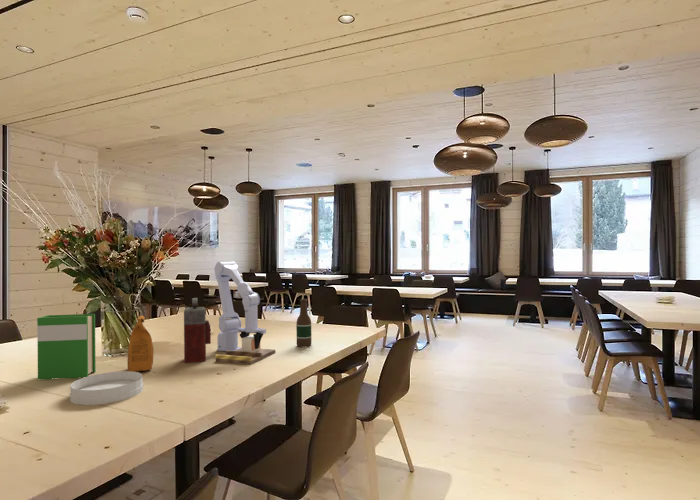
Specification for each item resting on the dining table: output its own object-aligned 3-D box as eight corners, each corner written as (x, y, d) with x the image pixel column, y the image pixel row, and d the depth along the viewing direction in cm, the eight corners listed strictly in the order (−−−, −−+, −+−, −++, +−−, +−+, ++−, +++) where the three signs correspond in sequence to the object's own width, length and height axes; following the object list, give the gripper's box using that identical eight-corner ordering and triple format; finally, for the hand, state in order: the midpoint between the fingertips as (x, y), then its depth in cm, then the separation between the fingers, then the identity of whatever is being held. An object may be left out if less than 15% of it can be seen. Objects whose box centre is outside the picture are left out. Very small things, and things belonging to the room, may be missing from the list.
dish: (127, 380, 162) (127, 367, 162) (155, 392, 148) (154, 378, 148) (59, 396, 145) (59, 382, 145) (84, 411, 131) (83, 395, 131)
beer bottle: (293, 346, 217) (293, 299, 217) (302, 343, 224) (301, 298, 224) (306, 347, 213) (305, 300, 213) (314, 344, 220) (314, 298, 220)
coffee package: (154, 364, 185) (154, 314, 185) (153, 371, 173) (152, 318, 173) (129, 367, 181) (128, 315, 181) (125, 374, 170) (125, 319, 170)
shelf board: (215, 361, 188) (215, 354, 188) (242, 350, 209) (242, 344, 209) (251, 364, 183) (251, 357, 183) (275, 352, 204) (275, 346, 204)
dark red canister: (211, 360, 190) (210, 298, 190) (184, 363, 186) (183, 299, 186) (211, 356, 198) (210, 296, 198) (185, 358, 195) (184, 297, 195)
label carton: (251, 354, 195) (251, 338, 195) (241, 353, 197) (241, 338, 197) (261, 349, 204) (261, 335, 204) (252, 349, 205) (251, 334, 205)
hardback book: (95, 372, 173) (95, 313, 174) (87, 377, 166) (86, 316, 166) (48, 374, 171) (48, 315, 171) (37, 380, 164) (37, 318, 164)
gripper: (233, 320, 199) (233, 349, 199) (260, 321, 194) (260, 351, 194) (241, 317, 205) (241, 345, 205) (268, 319, 201) (268, 347, 201)
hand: (251, 348), depth 200 cm, fingers closed on label carton, 5 cm apart
